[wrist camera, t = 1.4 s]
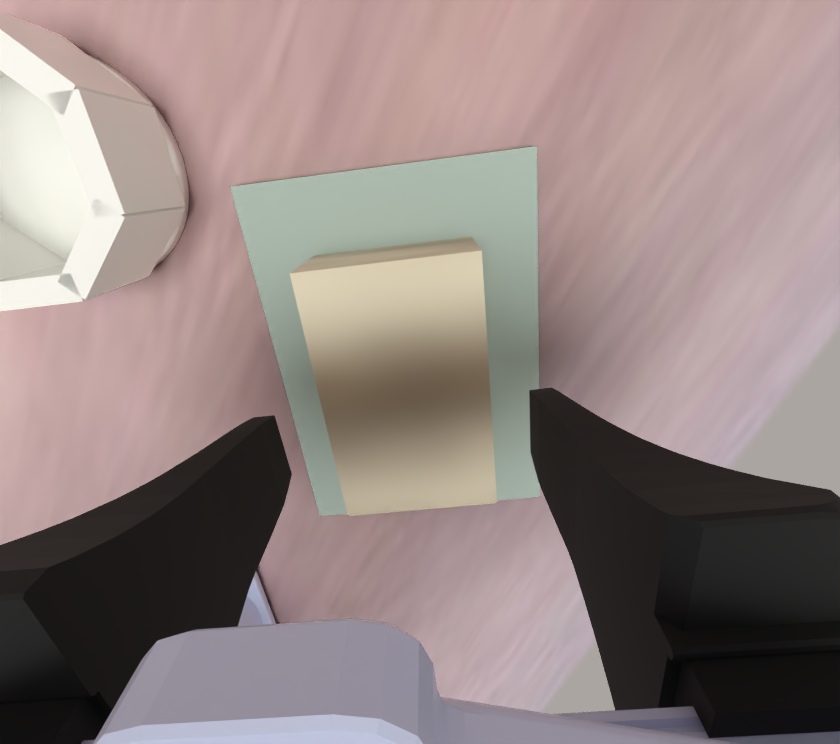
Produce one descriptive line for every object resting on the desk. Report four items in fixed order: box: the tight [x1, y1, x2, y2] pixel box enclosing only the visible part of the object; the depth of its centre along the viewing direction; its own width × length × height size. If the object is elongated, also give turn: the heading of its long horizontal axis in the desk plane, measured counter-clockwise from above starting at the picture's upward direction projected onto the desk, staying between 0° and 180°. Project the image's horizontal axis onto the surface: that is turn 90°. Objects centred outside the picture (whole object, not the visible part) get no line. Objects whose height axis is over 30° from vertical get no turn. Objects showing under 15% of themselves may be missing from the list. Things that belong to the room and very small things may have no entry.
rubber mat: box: [230, 146, 540, 516], centre depth 17 cm, size 14×10×1 cm
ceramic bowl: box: [0, 11, 189, 311], centre depth 13 cm, size 7×7×4 cm
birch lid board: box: [290, 237, 497, 516], centre depth 16 cm, size 9×6×3 cm, turn 7°
